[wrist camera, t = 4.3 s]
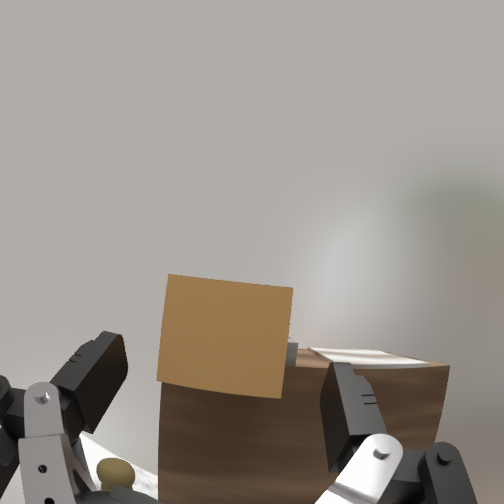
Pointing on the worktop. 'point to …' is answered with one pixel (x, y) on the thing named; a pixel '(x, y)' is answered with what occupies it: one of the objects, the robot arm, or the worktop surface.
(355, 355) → the walnut stand
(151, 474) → the worktop surface
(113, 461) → the cork
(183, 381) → the wooden bar
